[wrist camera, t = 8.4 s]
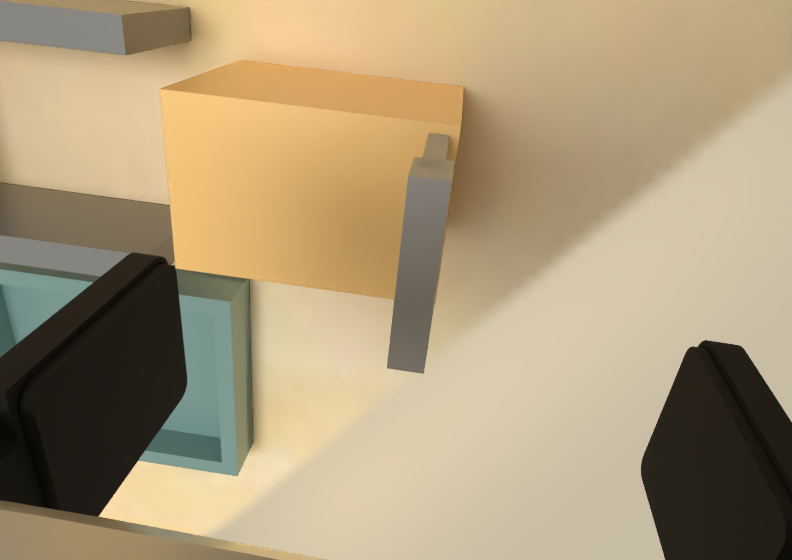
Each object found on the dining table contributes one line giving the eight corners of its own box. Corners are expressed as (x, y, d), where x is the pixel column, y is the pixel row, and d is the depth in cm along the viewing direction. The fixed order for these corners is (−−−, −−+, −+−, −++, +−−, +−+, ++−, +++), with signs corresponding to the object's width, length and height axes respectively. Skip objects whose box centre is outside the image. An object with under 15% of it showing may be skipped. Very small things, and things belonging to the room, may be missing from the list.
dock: (188, 7, 23) (121, 14, 18) (202, 233, 27) (151, 283, 23) (-79, -24, 23) (-207, -24, 19) (-22, 203, 28) (-115, 245, 23)
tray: (249, 276, 28) (230, 301, 26) (253, 442, 33) (237, 476, 31) (-12, 239, 29) (-52, 261, 27) (30, 408, 34) (-1, 438, 32)
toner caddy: (463, 86, 23) (458, 169, 13) (443, 226, 26) (426, 383, 16) (241, 59, 24) (72, 119, 14) (244, 200, 26) (106, 335, 16)
